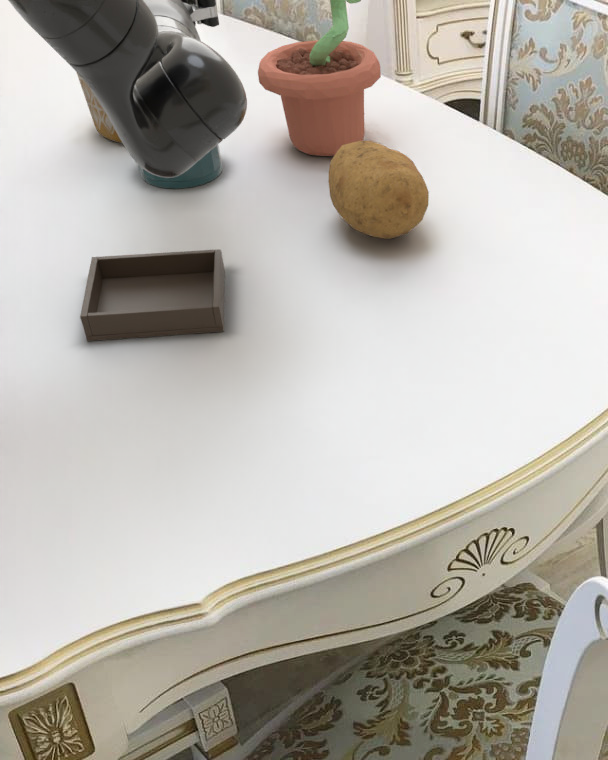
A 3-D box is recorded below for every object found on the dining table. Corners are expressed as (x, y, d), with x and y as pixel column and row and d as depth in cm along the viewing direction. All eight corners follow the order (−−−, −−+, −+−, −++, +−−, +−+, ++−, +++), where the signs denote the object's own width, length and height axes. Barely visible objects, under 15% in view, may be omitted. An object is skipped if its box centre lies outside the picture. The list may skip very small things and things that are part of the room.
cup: (138, 191, 122) (125, 135, 118) (143, 157, 128) (131, 103, 124) (221, 186, 123) (212, 131, 119) (222, 153, 129) (213, 99, 125)
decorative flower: (308, 111, 138) (274, -183, 117) (408, 128, 135) (393, -171, 114) (246, 157, 129) (197, -155, 107) (353, 177, 125) (325, -141, 104)
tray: (87, 341, 101) (79, 316, 99) (98, 281, 108) (91, 256, 106) (223, 331, 102) (219, 307, 100) (225, 272, 110) (220, 248, 108)
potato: (391, 193, 123) (386, 119, 117) (451, 246, 114) (449, 169, 109) (309, 212, 119) (301, 136, 113) (365, 268, 111) (359, 189, 105)
